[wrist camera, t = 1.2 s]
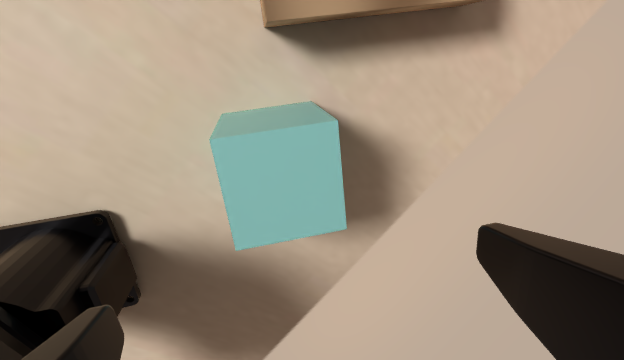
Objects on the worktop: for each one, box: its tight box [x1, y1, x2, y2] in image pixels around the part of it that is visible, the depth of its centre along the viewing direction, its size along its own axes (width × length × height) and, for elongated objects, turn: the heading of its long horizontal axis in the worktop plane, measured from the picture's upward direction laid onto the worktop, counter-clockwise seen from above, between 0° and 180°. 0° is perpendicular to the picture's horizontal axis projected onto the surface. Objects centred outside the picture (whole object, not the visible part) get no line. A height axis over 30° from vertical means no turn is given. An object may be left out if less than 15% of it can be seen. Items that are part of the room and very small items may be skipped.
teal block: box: [209, 101, 347, 251], centre depth 16 cm, size 5×5×6 cm
